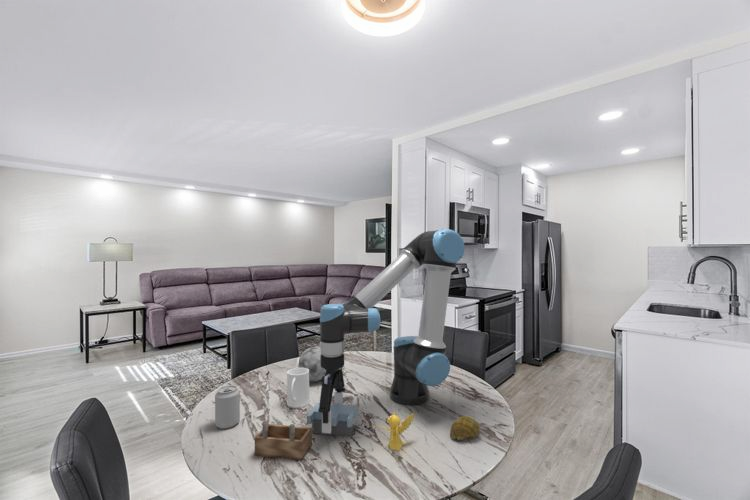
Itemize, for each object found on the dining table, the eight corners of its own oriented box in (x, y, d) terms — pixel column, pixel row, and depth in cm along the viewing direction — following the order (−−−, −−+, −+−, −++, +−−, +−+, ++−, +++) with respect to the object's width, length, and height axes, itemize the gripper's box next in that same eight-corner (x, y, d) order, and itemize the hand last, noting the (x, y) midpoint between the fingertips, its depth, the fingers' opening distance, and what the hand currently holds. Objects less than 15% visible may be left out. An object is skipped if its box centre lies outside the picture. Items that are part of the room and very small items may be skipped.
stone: (291, 381, 149) (290, 347, 149) (318, 371, 161) (318, 340, 161) (313, 390, 139) (312, 353, 139) (340, 379, 151) (340, 345, 151)
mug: (300, 413, 120) (300, 379, 120) (278, 411, 121) (278, 377, 121) (313, 398, 131) (313, 367, 131) (292, 397, 133) (292, 366, 133)
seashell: (458, 455, 100) (472, 443, 96) (441, 435, 104) (453, 422, 99) (474, 436, 107) (487, 424, 103) (457, 417, 110) (469, 405, 106)
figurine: (380, 428, 108) (379, 401, 108) (414, 438, 102) (414, 409, 102) (360, 447, 98) (359, 416, 98) (397, 459, 92) (396, 427, 92)
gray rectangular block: (353, 429, 108) (353, 416, 108) (350, 435, 104) (350, 422, 104) (317, 426, 110) (317, 414, 110) (312, 432, 106) (312, 420, 106)
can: (215, 432, 107) (215, 394, 107) (214, 422, 114) (214, 386, 114) (241, 426, 111) (240, 389, 111) (238, 416, 117) (238, 382, 118)
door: (357, 413, 111) (357, 405, 111) (351, 427, 102) (351, 418, 102) (316, 410, 113) (316, 402, 113) (306, 423, 104) (306, 415, 104)
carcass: (312, 444, 100) (311, 414, 100) (301, 460, 92) (301, 427, 92) (267, 440, 102) (267, 410, 102) (254, 456, 95) (253, 423, 95)
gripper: (332, 343, 120) (332, 403, 120) (306, 365, 96) (307, 442, 96) (352, 343, 119) (353, 405, 119) (332, 367, 95) (333, 444, 95)
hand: (332, 421), depth 107 cm, fingers open, 12 cm apart
